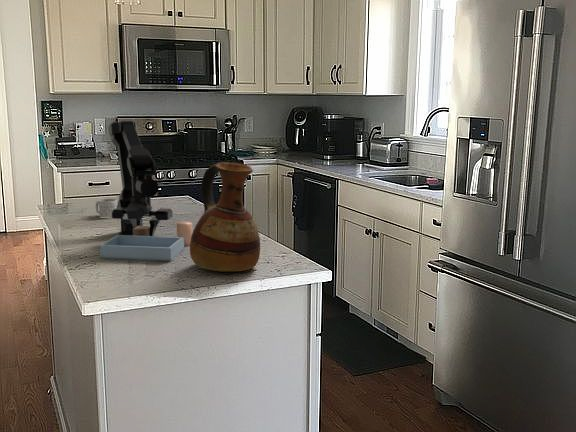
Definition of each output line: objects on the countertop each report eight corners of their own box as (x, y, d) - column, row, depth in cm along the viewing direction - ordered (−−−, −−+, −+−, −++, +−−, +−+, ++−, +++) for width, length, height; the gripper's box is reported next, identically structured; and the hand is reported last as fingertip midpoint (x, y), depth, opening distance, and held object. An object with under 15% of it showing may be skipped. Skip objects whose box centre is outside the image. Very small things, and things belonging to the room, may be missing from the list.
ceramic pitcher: (233, 282, 166) (231, 169, 160) (175, 270, 176) (171, 163, 170) (274, 265, 182) (274, 161, 176) (218, 255, 192) (217, 156, 186)
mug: (121, 216, 248) (120, 199, 247) (107, 219, 242) (107, 202, 241) (103, 213, 253) (102, 197, 252) (90, 216, 248) (89, 199, 246)
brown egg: (175, 245, 204) (174, 224, 202) (179, 241, 208) (179, 221, 207) (190, 246, 203) (189, 224, 202) (194, 242, 208) (194, 221, 206)
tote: (100, 258, 188) (99, 245, 187) (117, 247, 201) (117, 234, 200) (170, 261, 185) (170, 248, 184) (184, 249, 198) (183, 237, 198)
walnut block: (133, 244, 205) (132, 229, 204) (138, 240, 210) (138, 225, 209) (148, 244, 205) (147, 229, 204) (153, 240, 209) (152, 226, 208)
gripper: (103, 195, 197) (106, 244, 200) (161, 197, 195) (163, 246, 198) (117, 190, 208) (119, 236, 211) (172, 191, 206) (173, 238, 209)
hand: (143, 239), depth 207 cm, fingers closed on walnut block, 5 cm apart
